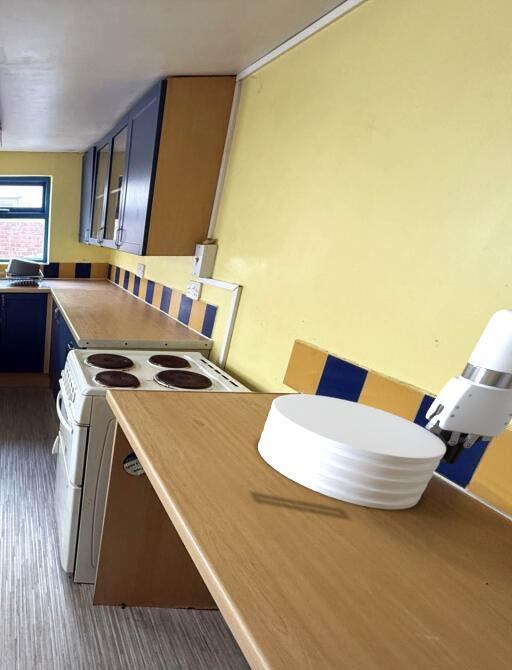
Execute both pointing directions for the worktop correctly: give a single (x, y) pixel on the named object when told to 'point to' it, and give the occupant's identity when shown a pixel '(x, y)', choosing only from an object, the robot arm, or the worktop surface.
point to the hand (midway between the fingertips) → (443, 460)
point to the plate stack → (350, 450)
